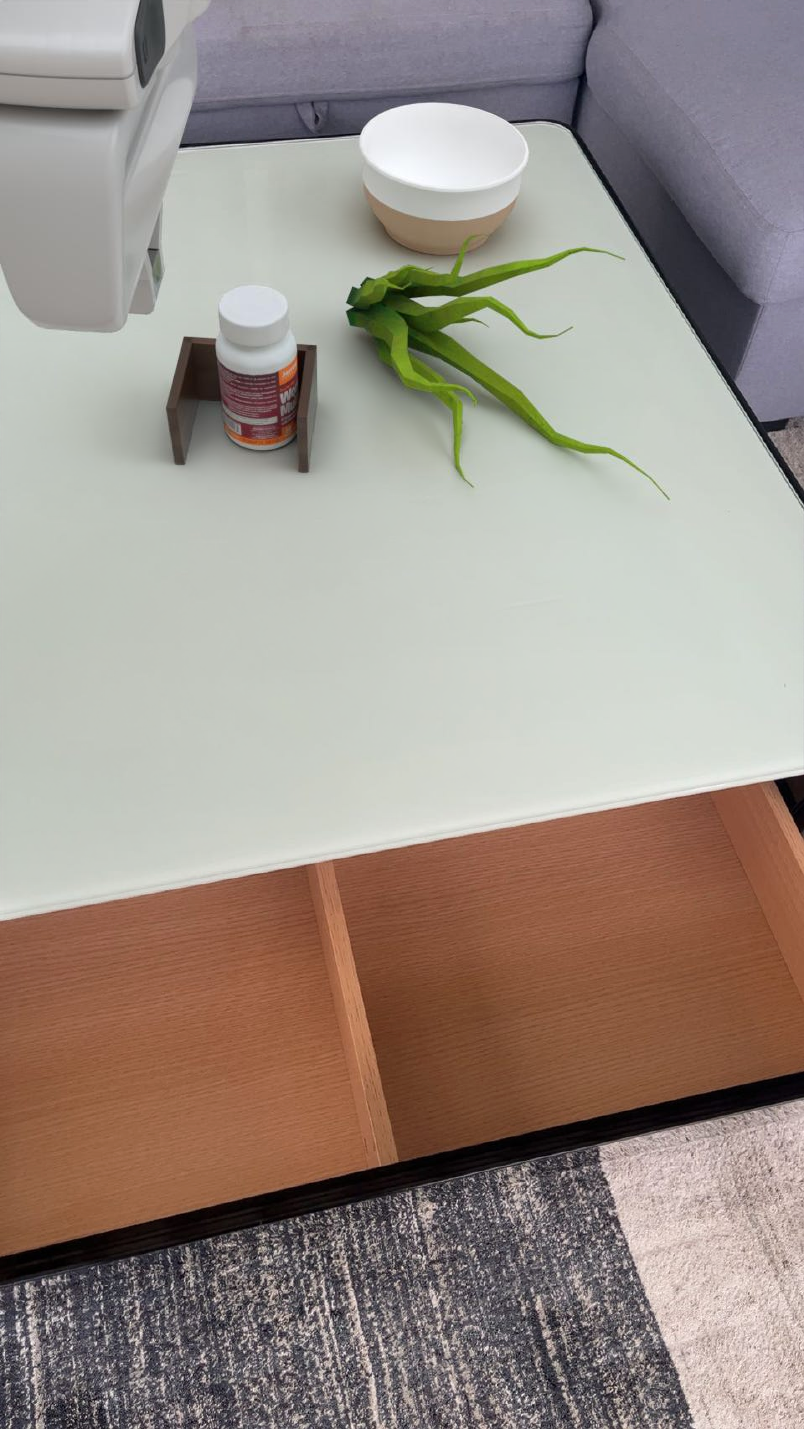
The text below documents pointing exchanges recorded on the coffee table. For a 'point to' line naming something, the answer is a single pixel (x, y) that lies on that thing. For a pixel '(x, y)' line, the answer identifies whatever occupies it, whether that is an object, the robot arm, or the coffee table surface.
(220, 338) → the pill bottle
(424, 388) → the decorative plant
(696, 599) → the coffee table surface
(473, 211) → the bowl
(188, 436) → the u-shaped stand
